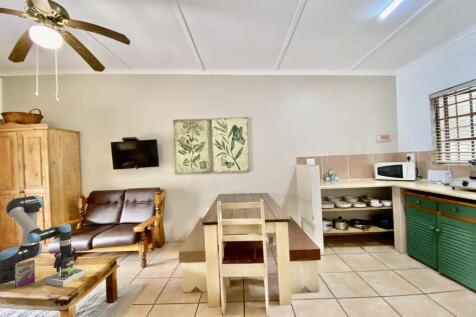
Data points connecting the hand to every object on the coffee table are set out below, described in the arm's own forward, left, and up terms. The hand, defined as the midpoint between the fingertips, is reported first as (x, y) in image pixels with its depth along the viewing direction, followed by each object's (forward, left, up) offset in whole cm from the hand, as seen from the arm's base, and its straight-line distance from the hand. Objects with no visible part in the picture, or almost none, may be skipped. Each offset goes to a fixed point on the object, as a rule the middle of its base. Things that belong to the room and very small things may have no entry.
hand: (66, 272), depth 180 cm
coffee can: (0, 0, -3) cm, 3 cm away
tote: (0, 0, -5) cm, 5 cm away
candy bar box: (-25, -13, -5) cm, 29 cm away
